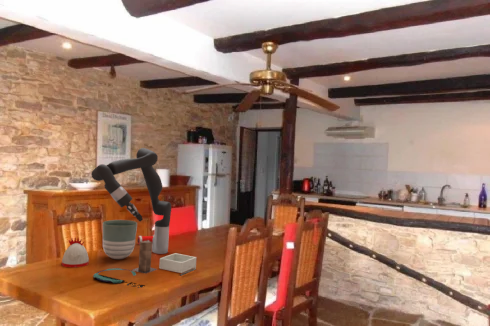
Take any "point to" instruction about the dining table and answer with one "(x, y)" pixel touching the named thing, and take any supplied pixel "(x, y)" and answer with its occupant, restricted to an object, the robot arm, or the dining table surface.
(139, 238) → the toy hammer
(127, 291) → the dining table surface
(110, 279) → the cutlery set
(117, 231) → the planter
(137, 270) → the stud plate
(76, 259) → the kitchen timer
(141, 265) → the strut
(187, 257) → the bin
